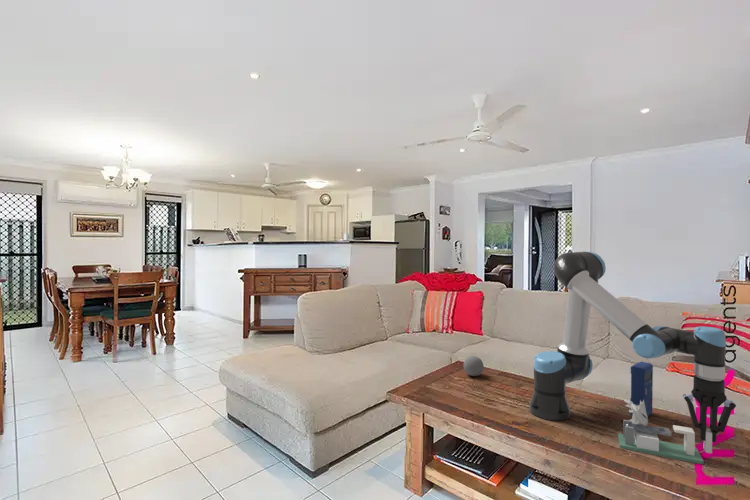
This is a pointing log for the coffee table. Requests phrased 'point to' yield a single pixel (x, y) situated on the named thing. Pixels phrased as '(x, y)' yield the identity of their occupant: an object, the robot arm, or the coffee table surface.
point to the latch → (687, 438)
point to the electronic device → (642, 385)
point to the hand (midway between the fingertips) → (707, 450)
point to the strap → (649, 429)
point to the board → (654, 445)
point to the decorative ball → (473, 366)
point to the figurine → (637, 412)
